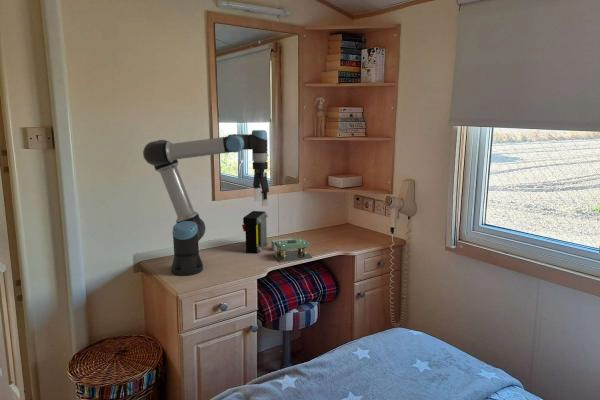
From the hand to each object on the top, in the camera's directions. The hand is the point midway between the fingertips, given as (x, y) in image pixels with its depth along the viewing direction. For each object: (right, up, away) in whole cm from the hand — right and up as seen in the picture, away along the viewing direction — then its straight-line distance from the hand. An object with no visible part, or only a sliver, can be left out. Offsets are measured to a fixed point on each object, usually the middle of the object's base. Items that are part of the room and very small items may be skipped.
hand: (260, 203), depth 221 cm
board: (+16, -23, +12) cm, 30 cm away
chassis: (+16, -29, +13) cm, 35 cm away
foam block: (+10, -26, +26) cm, 39 cm away
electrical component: (-5, -26, +27) cm, 38 cm away
